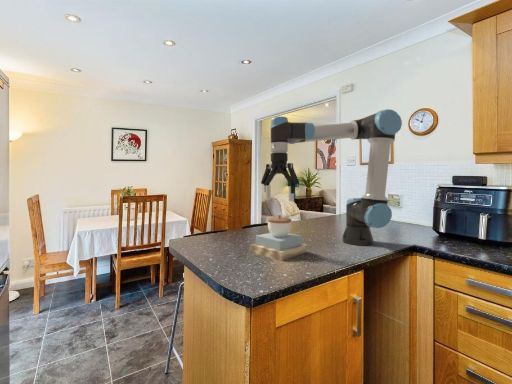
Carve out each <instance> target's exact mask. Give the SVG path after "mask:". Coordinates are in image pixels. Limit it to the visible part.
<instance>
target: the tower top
mask: <svg viewBox="0 0 512 384" xmlns="http://www.w3.org/2000/svg"><path fill="white" fill-rule="evenodd" d="M255 244H256V245H260V246H264V247H267V248H271V249H275V250H279V251H281V250H285V249H289V248H292V247H296V246H300V245H302V244H303V235H298V234H293V233H290V232H289V233H288V234H287V235H286V236H285V237H274V236H272V234H271V233H270V232H267V233H263V234H262V233H261V234H257V235H255Z"/></svg>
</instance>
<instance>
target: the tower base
mask: <svg viewBox="0 0 512 384" xmlns="http://www.w3.org/2000/svg"><path fill="white" fill-rule="evenodd" d="M249 245H250V246H249V247H250V248H249V249H250V253H251V254H252V253H253V254H256V255H259V256H262V257H267V258H271V259H272V260H277V261H284V260H288V259H290V258H293V257H296V256H300V255H302V254H304V253H307V244H305V243H302V245H300V246H296V247H292V248H289V249H285V250H281V251H279V250H275V249H271V248H267V247H264V246H260V245H256V243H252V244H249Z"/></svg>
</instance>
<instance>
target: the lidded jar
mask: <svg viewBox="0 0 512 384" xmlns="http://www.w3.org/2000/svg"><path fill="white" fill-rule="evenodd" d="M267 228H268V232H269V233H271V234H272V236H274V237H285V236H286V235H287V234H288V233H289V234H290V231H291V228H292V218H290V217H285V216H284V217H282V216H281V214H278V216H274V217H272V216H271V217H268V218H267Z"/></svg>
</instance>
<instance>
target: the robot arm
mask: <svg viewBox="0 0 512 384" xmlns="http://www.w3.org/2000/svg"><path fill="white" fill-rule="evenodd" d="M402 122H403V121H402V118H401V115H399V113H398V112H397V111H395V110H394V109H389V108H388V109H383V110H379V111H377V112H375V113H373V114H371V115H367V116H364V117H362V118H359V119H355V120H351V121H350V122H344V123H343V122H342V123H331V124H330V123H329V124H319V125H315V124H314V123H312V122H290V121H289V120H288V117H286V116H274V117H272V118H271V119H270V128H269V129H270V152H271V154H270V162H271V163H266V164H265V170H264V173H263V176H262V179H261V181H260V184H261V185H264V193H265V199H264V200H265V201H267V200H271V199H272V198H271V192H272V191H271V190H272V189H271V185H270V184H271V182H272V181H273V180H274V177H275V176H276V175H283V176H284V179H286V180H287V183H288V184H289V186H288V202H295V194H296V186H297V185H298V186H299V184H300V181H299V179H298V175H297V173H296V171H295V168H294V163H292V162H288V155H289V154H288V150H289V147H288V146H289V145H295V144H297V143H300V144H301V143H306V142H308V143H309V142H319V141H329V140H339V139H351V140H367V142H368V143H369V144H370V147H369V155H368V165H367V174H366V175H367V176H366V185H365V194H363V195H362V196H361V197H355V198H354V197H352V198H348V199H347V200H346V205H345V206H346V208H345V209H346V212H345V213H346V216H345V220H346V221H345V229H344V232H343V234H342V240H341V241H342V242H343V243H346V244H349V245H354V246H369V245H373V244H374V238H373V234H372V231H371V228H374V229H381V228H385V227H386V226H387V225H388V224H389V223H390V222H391V219H392V215H393V212H392V210H391V208H390V206H389V199H388V198H387V196H386V189H387V182H388V181H387V180H388V170H389V161H390V154H391V151H390V150H391V144H393V143H394V142H395V140H396V134H397V133H398V132H399V131H400V130H401V129H402V125H403V123H402ZM288 144H289V145H288ZM287 162H288V163H287Z"/></svg>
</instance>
